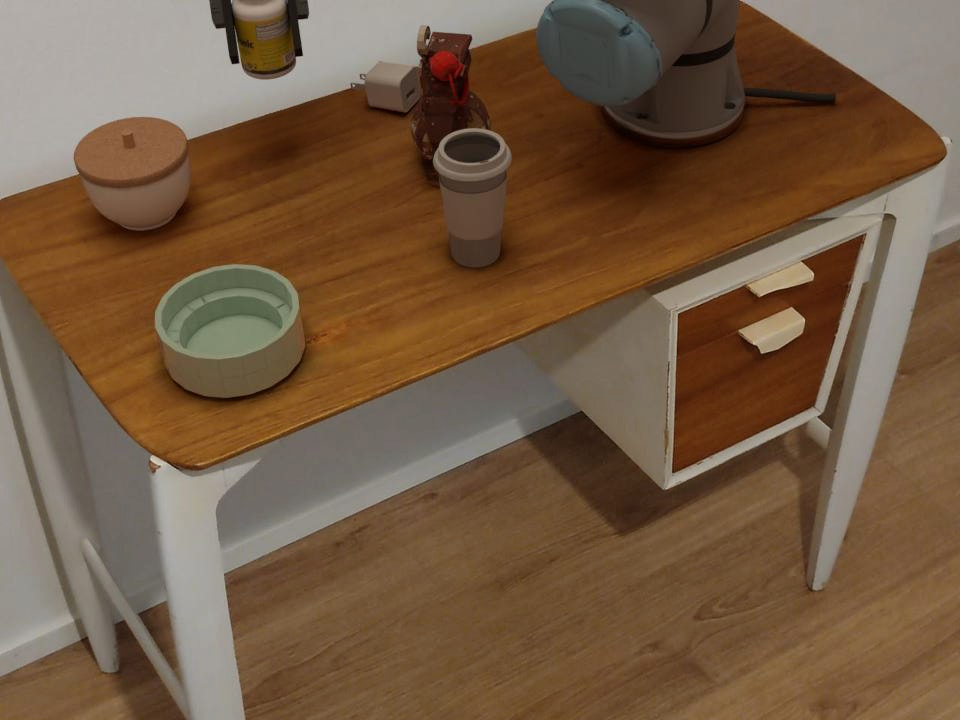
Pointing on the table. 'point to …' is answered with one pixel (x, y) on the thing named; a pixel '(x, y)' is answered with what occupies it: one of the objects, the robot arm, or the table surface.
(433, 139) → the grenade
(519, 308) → the table surface
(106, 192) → the trinket box
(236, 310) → the sage bowl
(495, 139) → the cup
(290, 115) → the table surface
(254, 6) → the supplement bottle
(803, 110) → the table surface
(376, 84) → the usb wall charger
